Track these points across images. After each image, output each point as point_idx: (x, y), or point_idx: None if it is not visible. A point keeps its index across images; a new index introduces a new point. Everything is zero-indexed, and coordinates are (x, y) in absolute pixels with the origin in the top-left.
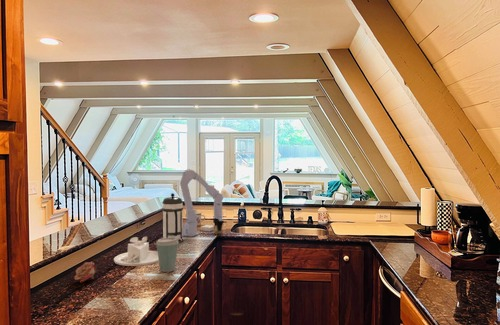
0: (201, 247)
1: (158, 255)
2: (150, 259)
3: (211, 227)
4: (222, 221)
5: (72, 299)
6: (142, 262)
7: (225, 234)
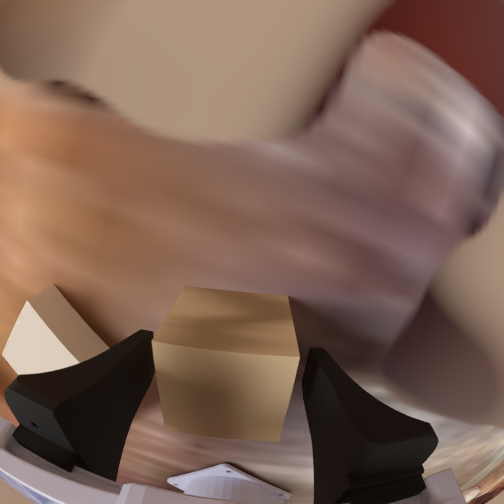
0: (492, 438)
1: None
2: None
3: None
4: (427, 451)
5: (490, 497)
6: (467, 501)
7: (368, 280)
